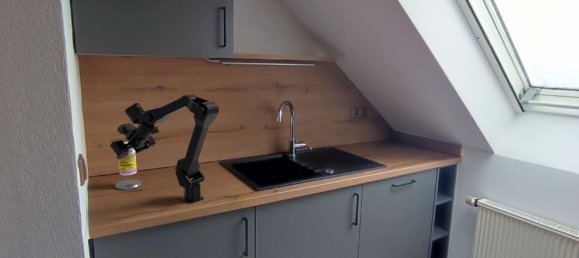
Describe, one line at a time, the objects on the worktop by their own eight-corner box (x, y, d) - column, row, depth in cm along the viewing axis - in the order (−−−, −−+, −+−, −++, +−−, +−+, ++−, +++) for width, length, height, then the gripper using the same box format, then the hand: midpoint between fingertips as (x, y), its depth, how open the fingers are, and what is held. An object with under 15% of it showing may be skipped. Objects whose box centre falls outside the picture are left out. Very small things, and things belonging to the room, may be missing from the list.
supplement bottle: (118, 176, 150) (115, 145, 147) (121, 171, 156) (118, 142, 154) (135, 175, 151) (132, 144, 149) (138, 170, 158) (135, 141, 155)
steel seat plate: (146, 185, 155) (145, 183, 155) (122, 191, 148) (122, 189, 148) (134, 180, 162) (134, 178, 162) (111, 186, 154) (111, 183, 154)
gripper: (148, 114, 156) (131, 137, 163) (111, 120, 139) (93, 146, 146) (164, 134, 154) (145, 156, 161) (128, 143, 138) (109, 168, 144)
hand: (124, 156), depth 153 cm, fingers closed on supplement bottle, 7 cm apart
